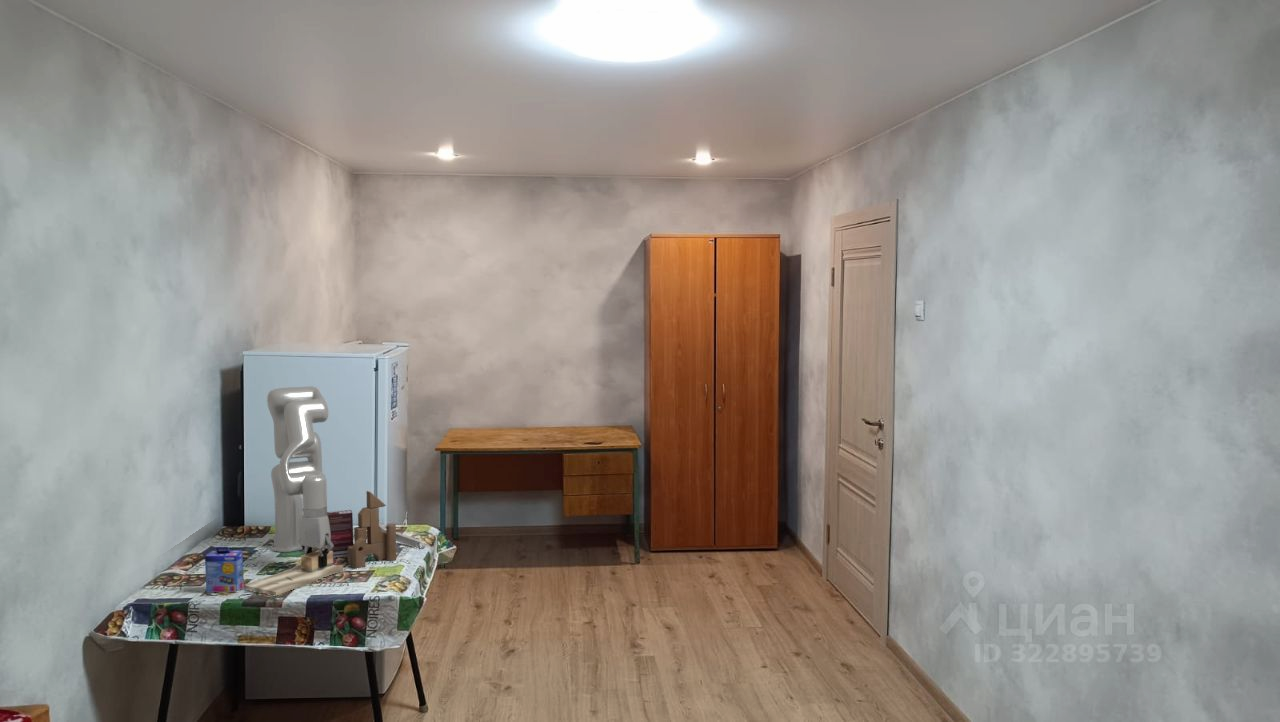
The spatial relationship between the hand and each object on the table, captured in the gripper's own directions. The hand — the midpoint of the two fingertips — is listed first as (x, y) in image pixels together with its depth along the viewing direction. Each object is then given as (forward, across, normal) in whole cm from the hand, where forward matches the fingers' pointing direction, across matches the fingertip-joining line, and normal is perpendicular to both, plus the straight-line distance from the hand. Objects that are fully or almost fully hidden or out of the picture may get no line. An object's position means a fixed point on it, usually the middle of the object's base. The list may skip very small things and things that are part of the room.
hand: (316, 565), depth 291 cm
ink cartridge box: (+3, -12, -26) cm, 29 cm away
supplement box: (+3, -7, +18) cm, 20 cm away
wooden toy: (+3, +9, +17) cm, 19 cm away
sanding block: (+1, 0, 0) cm, 1 cm away
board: (+3, 0, -9) cm, 9 cm away
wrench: (+3, -1, +39) cm, 39 cm away
